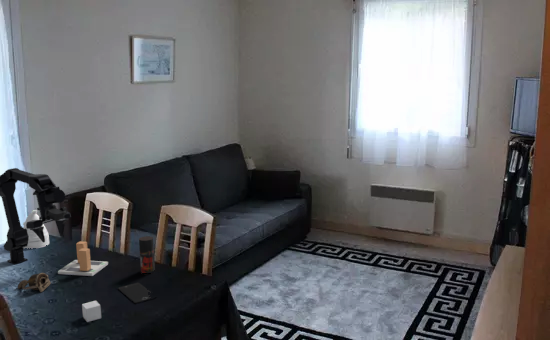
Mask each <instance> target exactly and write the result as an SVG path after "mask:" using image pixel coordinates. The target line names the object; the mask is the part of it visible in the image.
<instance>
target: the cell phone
mask: <svg viewBox="0 0 550 340" xmlns="http://www.w3.org/2000/svg"><path fill="white" fill-rule="evenodd" d="M147 289H148V288H146V287H145V286H144V285H143V284H141V283H140V282H135V283H131V284H127V285H122V286H118V289H117V290H119V291H120V292H121V293H122V294H123V295H126V298H127V299H129V300H130V301H131V302H132V301H133V302H132V303H134V304H135V305H138V304H141V303H140V302H142V301H145V302H147V301H146V300H148V299H150V298H151V297H149V296H150V295H148V292H150V293H151V292H152V291H150V290H149V289H148V290H147ZM137 303H138V304H137ZM142 303H143V302H142Z"/></svg>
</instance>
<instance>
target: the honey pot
mask: <svg viewBox="0 0 550 340" xmlns="http://www.w3.org/2000/svg"><path fill="white" fill-rule="evenodd" d="M37 213H38V210H37V209H34V210H31V212H30V213H29V214H28V215H27V217H26V219H25V221H24V222H23V223H22V225H23V226H22V227H23V228H24V229H27V227H26V224H27V222H29V221H32V220H39V217H40V216H39V215H38V214H37ZM42 227H44V228H43V233H44V237H45V242H42V241H41V239H40V238H39V237H38V236H37V234H36V233H35V232H34V231H33V230H30V229H27V233H28V236H29V239H28V245H27V246H26V247H23V249H25V248H27V249H26V250H34V249H33V248H36V249H39V248H44V247H47V246H48V245H50V236H49V234H50V233H49V231H48V229H47V228H46V226H45V223H44V224H43V225H42ZM46 245H47V246H46ZM28 248H29V249H28ZM30 248H31V249H30Z"/></svg>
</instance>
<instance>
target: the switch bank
mask: <svg viewBox="0 0 550 340" xmlns="http://www.w3.org/2000/svg"><path fill="white" fill-rule="evenodd" d="M108 265H109V261H103V260H102V261H101V260H99V261H98V260H91V269H90V270H88V271H80V264H79V263H78V260H77V259H74V260H73V261H71V262H70V263H68V264H67V265H64V267H62V268H61V269H59V270H58V271H57V274H58V275H67V276H68V275H69V276H71V275H72V276H84V277H85V276H88V277H93V276H94V275H96V274H98V273H99V272H100V271H101V270H102V269H104V268H106V266H108Z"/></svg>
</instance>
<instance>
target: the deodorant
mask: <svg viewBox="0 0 550 340" xmlns="http://www.w3.org/2000/svg"><path fill="white" fill-rule="evenodd" d="M138 245H139V246H138V247H139V263H140V273H141V272H142V273H148V272H152V271H154V270H155V271H156V268H155V267H156V266H155V252H154V251H155V250H154V249H155V248H154V237H153V236H151V235H149V236H145V235H144V236H141V237H139V238H138ZM142 273H141V274H142Z"/></svg>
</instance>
